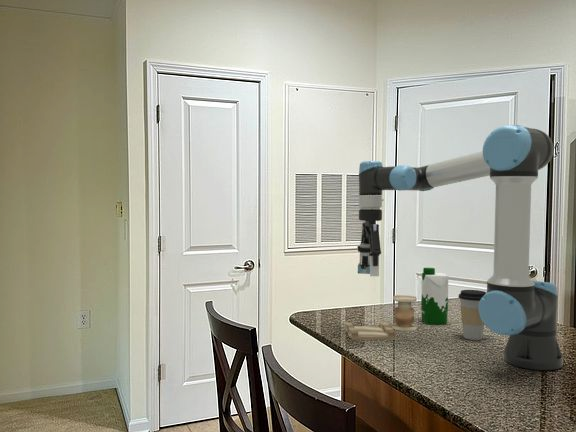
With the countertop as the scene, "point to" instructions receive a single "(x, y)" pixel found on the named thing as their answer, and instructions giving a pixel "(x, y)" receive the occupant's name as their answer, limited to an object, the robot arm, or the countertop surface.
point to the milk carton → (434, 297)
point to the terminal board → (370, 332)
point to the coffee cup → (471, 314)
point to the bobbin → (404, 313)
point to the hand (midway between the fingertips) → (370, 273)
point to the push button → (364, 258)
